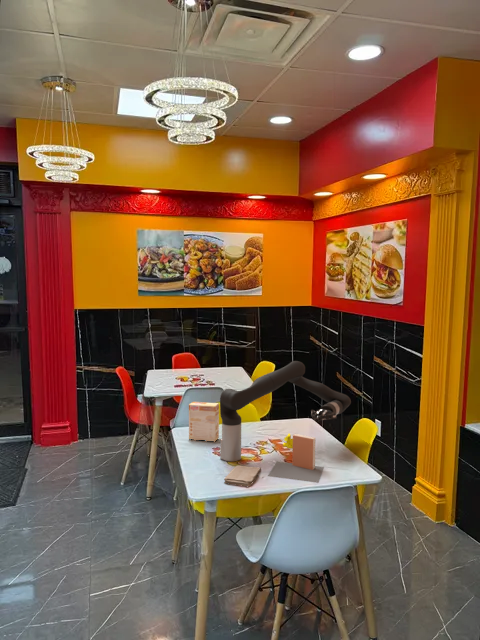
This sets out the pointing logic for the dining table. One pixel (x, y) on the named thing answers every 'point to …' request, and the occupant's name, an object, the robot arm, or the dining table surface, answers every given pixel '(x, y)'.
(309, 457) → the tile
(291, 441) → the crumpled paper
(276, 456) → the dining table surface
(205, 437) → the coffeecake box
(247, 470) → the washcloth
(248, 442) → the dining table surface
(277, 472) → the mat
